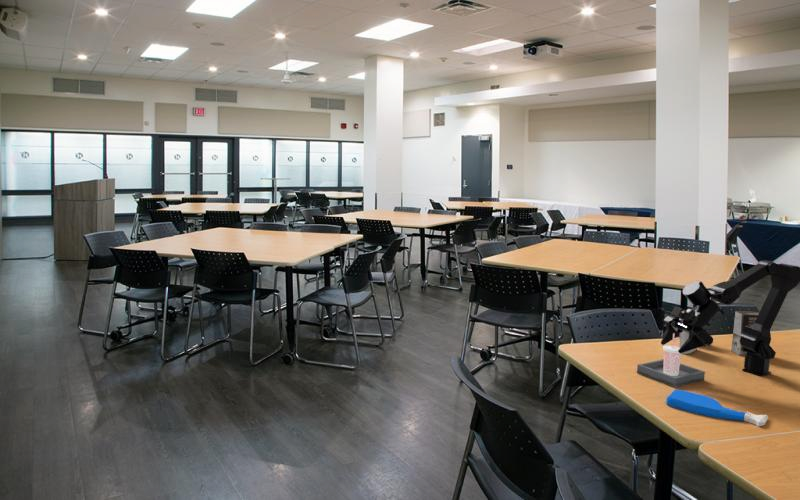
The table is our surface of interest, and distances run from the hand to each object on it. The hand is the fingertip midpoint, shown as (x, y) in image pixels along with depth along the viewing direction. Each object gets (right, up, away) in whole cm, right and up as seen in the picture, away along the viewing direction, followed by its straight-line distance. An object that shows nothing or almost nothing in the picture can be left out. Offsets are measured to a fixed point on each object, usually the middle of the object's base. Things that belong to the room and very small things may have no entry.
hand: (670, 348), depth 186 cm
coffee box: (+43, -7, +27) cm, 51 cm away
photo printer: (+21, -7, +30) cm, 37 cm away
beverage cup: (+1, -9, +1) cm, 9 cm away
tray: (+1, -10, +1) cm, 10 cm away
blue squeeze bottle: (0, -14, -26) cm, 30 cm away
